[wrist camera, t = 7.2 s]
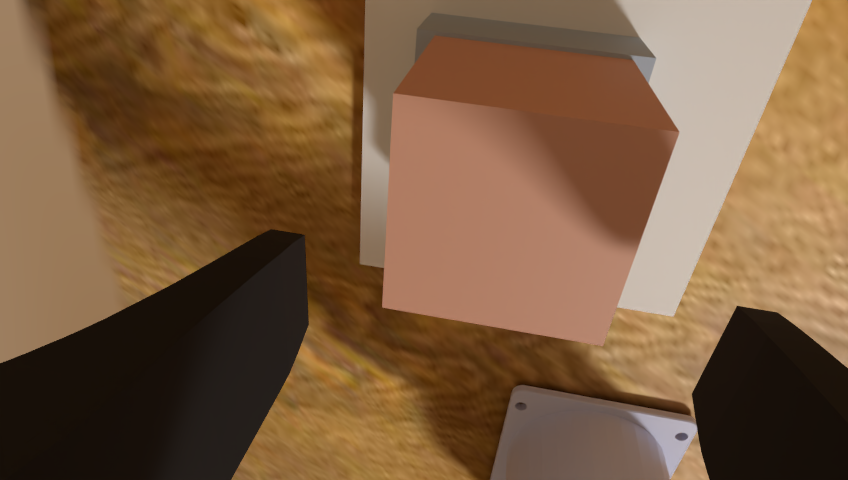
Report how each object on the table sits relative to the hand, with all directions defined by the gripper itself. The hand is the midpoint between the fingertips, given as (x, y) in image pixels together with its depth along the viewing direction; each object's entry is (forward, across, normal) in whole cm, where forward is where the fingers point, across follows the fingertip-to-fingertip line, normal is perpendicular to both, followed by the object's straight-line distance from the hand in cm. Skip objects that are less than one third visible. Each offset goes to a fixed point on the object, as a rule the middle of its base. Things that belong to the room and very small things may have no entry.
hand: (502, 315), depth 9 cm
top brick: (+7, 0, 0) cm, 7 cm away
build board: (+10, -1, +1) cm, 10 cm away
